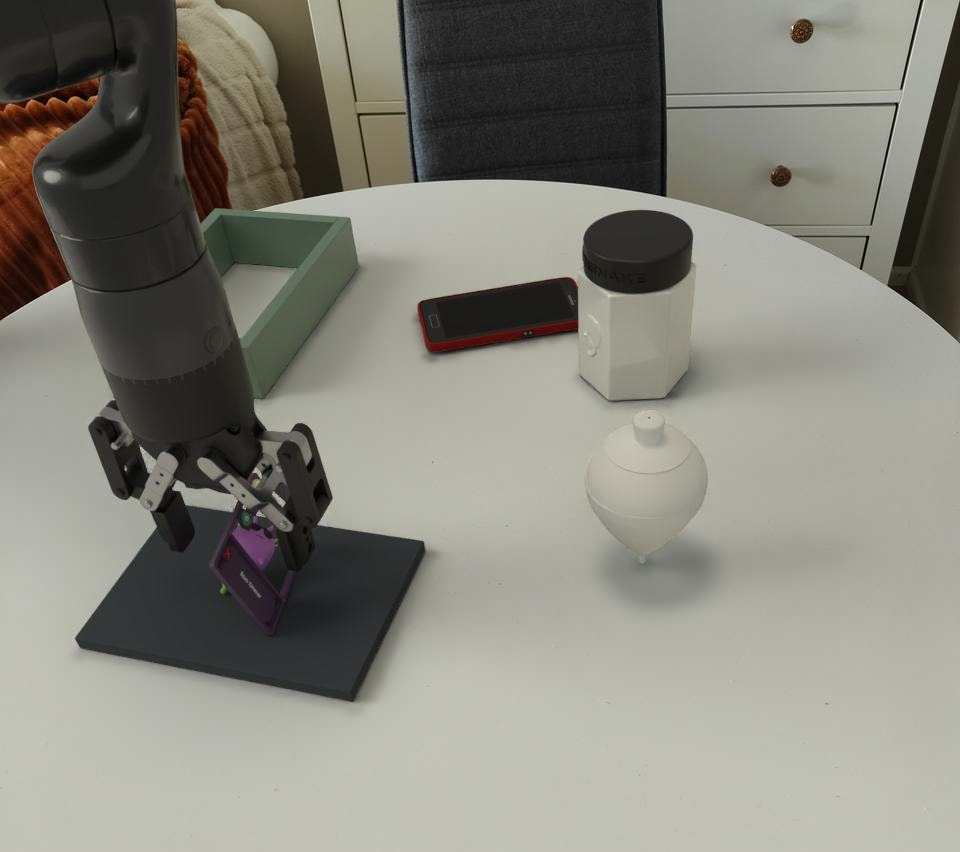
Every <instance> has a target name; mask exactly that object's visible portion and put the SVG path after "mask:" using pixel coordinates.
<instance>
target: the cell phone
mask: <svg viewBox="0 0 960 852" xmlns="http://www.w3.org/2000/svg"><path fill="white" fill-rule="evenodd" d="M416 309H417V315H418V320H419V323H420V324H419V325H420V327H421V332H422V336H423V340H424V344H425V347H426V349H427V350H428V351H429V352H431V353H439V352H447V351H454V350H458V349H466V348H471V347H478V346H483V345H489V344H490V345H491V344H495V343H501V342H507V341H513V340H519V339H525V338H531V337H537V336H544V335H550V334H555V333H561V332H567V331H574V330H578V283H577V282H576V280H575V279H574V278H572V277H569V276H562V277H556V278H555V277H554V278H548V279H547V278H546V279H542V280H536V281H530V282H524V283H523V282H522V283H518V284H511V285H505V286H499V287H493V288H487V289H481V290H474V291H468V292H461V293H455V294H450V295H443V296H437V297H432V298H427V299H422V300H420V301H419V302H418V303H417V307H416Z"/></svg>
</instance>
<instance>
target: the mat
mask: <svg viewBox="0 0 960 852" xmlns="http://www.w3.org/2000/svg"><path fill="white" fill-rule="evenodd" d="M185 505H186V507H187V510H188V513H189V515H190V518H191V520H192V523H193V526H194V528H195V536H194V538H193V540H192V541H191V542H190V544H189V545H188V547H187V548H186V550H185V551H184V552H182V553H181V552H175V551H171V550H170V548H169V545H168V543H166V542H165V541H164V540H163V539H162V537H161V536H160V533H159V531H158V529H157V526H156V527H155V529H154V530H153V531H152V533H151V534H150V535H149V537H148V538H147V539H146V541H145V542H144V543H143V545H142V546H141V547H140V549H139V550H138V551H137V553H136V554H135V556H134V557H133V558H132V560H131V561H130V563H129V564H128V565H127V567H126V568H125V569H124V571H123V572H122V573H121V575H120V576H119V578H118V579H117V580H116V582H114V584H113V585H112V587H111V588H110V590H108V592H107V593H106V595H105V597H103V599H102V600H101V602H100V603H99V604H98V606H97V607H96V609H95V610H94V611H93V613H92V614H91V615H90V617H89V618H88V619H87V621H86V622H85V624H84V625H83V626H82V627H81V629H80V630H79V632H78V633H77V634H76V635H75V637H74V640H75V642H76V643H77V645H78V647H79V648H80V649H84V650H89V651H94V652H99V653H105V654H110V655H115V656H120V657H126V658H130V659H134V660H139V661H145V662H151V663H156V664H161V665H165V666H170V667H171V666H172V667H177V668H180V669H186V670H191V671H196V672H201V673H206V674H211V675H217V676H221V677H227V678H231V679H237V680H240V681H241V680H242V681H245V682H246V681H247V682H251V683H257V684H263V685H268V686H272V687H276V688H277V687H278V688H282V689H287V690H292V691H298V692H303V693H308V694H313V695H318V696H324V697H327V698H334V699H338V700H342V701H343V700H344V701H347V702H354V700H355V698H356V696H357V695H358V693H359V690H360V688H361V686H362V683H363V682H364V679H365V678H366V676H367V673H368V671H369V669H370V667H371V665H372V663H373V661H374V658H375V657H376V655H377V653H378V651H379V649H380V646H381V644H382V642H383V640H384V638H385V636H386V634H387V632H388V630H389V627H390V625H391V623H392V622H393V620H394V617H395V615H396V613H397V611H398V609H399V608H400V605H401V603H402V601H403V599H404V597H405V594H406V593H407V590H408V588H409V586H410V584H411V582H412V580H413V578H414V576H415V574H416V572H417V569H418V567H419V565H420V563H421V561H422V559H423V557H424V555H425V553H426V545H425V541H424V540H419V539H412V538H406V537H400V536H394V535H386V534H380V533H373V532H366V531H361V530H354V529H346V528H341V527H334V526H327V525H320V524H318V525H317V526H316V527H315V528H311V530H312V534H313V539H314V541H315V549H314V551H313V553H312V555H311V557H310V558H309V560H308V562H307V563H306V565H303V567H302V569H301V570H300V571H299V572H298V571H296V574H295V577H294V579H293V582H292V585H291V588H290V590H289V593H288V596H287V599H286V601H285V604H284V607H283V609H282V612H281V615H280V618H279V620H278V623H277V626H276V629H275V631H274V634H273V635H271V636H266V635H265V634H264V633H263V631H262V630H261V629H260V628H259V627H258V625H257V624H256V623H255V622H254V621H253V619H252V618H251V617H250V616H249V615H248V613H247V612H246V611H245V610H244V609H243V607H242V606H241V605H240V604H239V603H238V601H237V600H236V599H235V598H234V597H233V596H232V594H231V593H230V592H229V591H227V593H226V594H221V592H220V590H221V589H222V586H223V585H222V582H221V581H220V580H219V579H218V578H217V576H216V575H215V574H214V573H213V572H212V570H211V569H210V567H209V564H210V561H211V559H212V557H213V555H214V552H215V550H216V548H217V546H218V544H219V541H220V539H221V537H222V535H223V532H224V530H225V528H226V526H227V523H228V521H229V519H230V517H231V515H232V512H233V511H228V510H221V509H215V508H208V507H201V506H195V505H188V504H185ZM250 515H251V514H250ZM256 516H257V519H258V525H260V526H262V527H264V528H266V529H268V528H269V527H270V526H272V525H273V526H274V528H273V530H272V532H271V533H272V536H273V539H274V540H275V539H278V538H277V534H276V531H275V530H276V528H277V527H276V526H275V525H274V524H273V523H272V522H271V521H270V520H269V519H268V518H266V517H265V516H262V515H256ZM251 518H252V521H253V520H254V516H253V515H251ZM238 523H239V520H238V519H237V521H236V523H235V526H234V528H233V530H232V532H233V531H234V530H235V529H236V528H237V527H238ZM239 524H240V523H239ZM275 544H276V545H277V546H276V547H275V549H274V553H273V556H272V558H271V559H270V561H269V562H268V564H267V565H266V567H265V568H264V569H263V570H262V572H263V573H264V575H265V576H266V577H267V579H268V580H269V581H270V582H271V584H272V585H273V586H274V587H275V589H276V590H277V591H278V592H279V594H280V591H281V589H282V586H283V583H284V581H285V578H286V575H287V573H288V569H287V567H286V564H285V561H284V557H283V554H282V551H281V547H280V544H279V541H276V542H275Z"/></svg>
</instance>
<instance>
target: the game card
mask: <svg viewBox="0 0 960 852" xmlns="http://www.w3.org/2000/svg"><path fill="white" fill-rule="evenodd" d="M260 480H261V477H260V476H259V474H258V473H257V472H253V473H252V474H251V476H250V477H249V479H248V480H247V482H248V483H249V484H250V485H251V486H252V487H254V488H256V486H257V485H258V483H259V482H260ZM272 496H273V498H274V499H275V500H276V501H277V502H278V500H277V499H276V497H275V496H274V495H273V494H272ZM231 512H232V515H231V517H230V519H229V521H228V523H227V526H226V528H225V530H224V532H223V535H222V537H221V539H220V541H219V544H218V546H217V548H216V550H215V552H214V555H213V557H212V559H211V561H210V564H209V567H210V569H211V570H212V572H213V573H214V574H215V575H216V576H217V578H218V579H219V580H220V581H221V582H222V585H223V586H222V589H221V590H220V592H221V594H226V593H227V591H229V592H230V593H231V594H232V596H233V597H234V598H235V599H236V600H237V601H238V603H239V604H240V605H241V606H242V607H243V609H244V610H245V611H246V612H247V613H248V615H249V616H250V617H251V618H252V619H253V621H254V622H255V623H256V624H257V625H258V627H259V628H260V629H261V630H262V631H263V633H264V634H265V635H266V636H271V635H273V634H274V631H275V629H276V626H277V623H278V620H279V618H280V615H281V612H282V609H283V607H284V604H285V601H286V599H287V596H288V593H289V590H290V588H291V585H292V582H293V579H294V577H295V574H296V571H292V570H288V573H287V575H286V578H285V581H284V583H283V586H282V589H281V591H280V594H279V592H278V591H277V590H276V589H275V587H274V586H273V585H272V584H271V582H270V581H269V580H268V579H267V577H266V576H265V575H264V573H263V572H262V570H263V569H264V568H265V567H266V565H267V564H268V562H269V561H270V559H271V558H272V556H273V553H274V549H275V547H276V546H277V545H276V544H275V542H276V541H278V539H275V540H274V539H273V536H272V533H271V532H272V530H273V528H274V526H273V525H272V526H270V527H269V528H268V529H266V528H264V527H262V526H260V525H258V519H257V516H258V515H257V514H258V512H259V510H254V511H251V510H249V509H248V508H246V507H245V508H244V505H243V504H242V503H241V502H240V501H239V500H238V499H237V501H236V503H235V506H234V508H233V510H232V511H231ZM251 515H253V516H254V520H253V521H252V518H251ZM237 519H238V520H239V523H240V524H239V523H238V527H237V528H236V529H235V530H234V531H233V532H232V530H233V528H234V526H235V523H236V521H237Z"/></svg>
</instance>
